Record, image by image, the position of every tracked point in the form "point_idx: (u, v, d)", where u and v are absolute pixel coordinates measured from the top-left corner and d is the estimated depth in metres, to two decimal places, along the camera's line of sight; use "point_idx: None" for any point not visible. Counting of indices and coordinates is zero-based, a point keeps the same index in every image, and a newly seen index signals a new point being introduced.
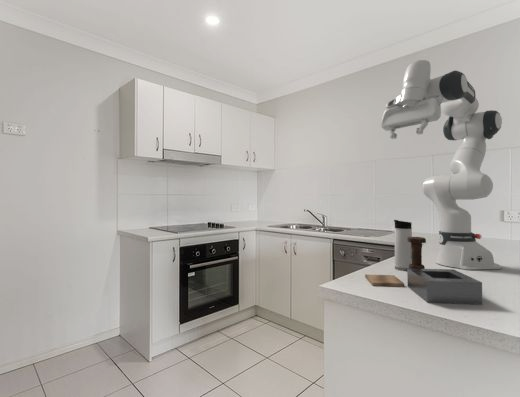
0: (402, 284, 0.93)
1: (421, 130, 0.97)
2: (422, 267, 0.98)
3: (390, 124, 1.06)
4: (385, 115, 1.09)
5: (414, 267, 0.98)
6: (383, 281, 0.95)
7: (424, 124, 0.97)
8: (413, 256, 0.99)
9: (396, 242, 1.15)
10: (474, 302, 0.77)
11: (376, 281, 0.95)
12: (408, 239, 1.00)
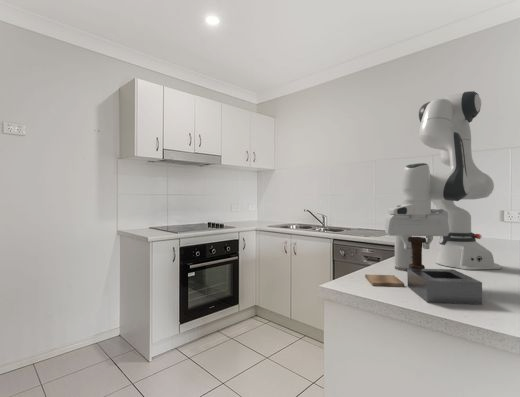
0: (402, 284, 0.93)
1: None
2: (422, 267, 0.98)
3: (400, 234, 0.99)
4: (393, 222, 0.98)
5: (414, 267, 0.98)
6: (383, 281, 0.95)
7: None
8: (413, 256, 0.99)
9: (396, 242, 1.15)
10: (474, 302, 0.77)
11: (376, 281, 0.95)
12: (408, 239, 1.00)
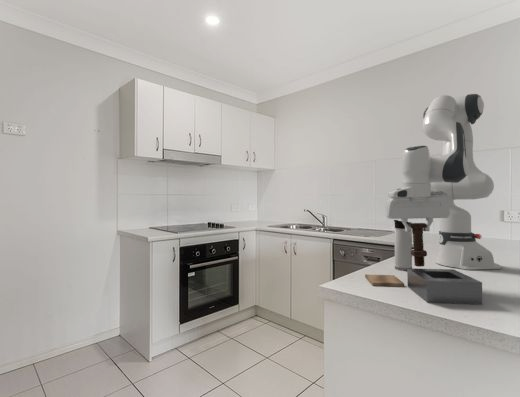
0: (402, 284, 0.93)
1: None
2: (424, 252, 0.98)
3: (401, 217, 0.99)
4: (393, 205, 0.99)
5: (417, 252, 0.98)
6: (383, 281, 0.95)
7: None
8: (415, 242, 0.99)
9: (396, 242, 1.15)
10: (474, 302, 0.77)
11: (376, 281, 0.95)
12: (409, 225, 1.01)
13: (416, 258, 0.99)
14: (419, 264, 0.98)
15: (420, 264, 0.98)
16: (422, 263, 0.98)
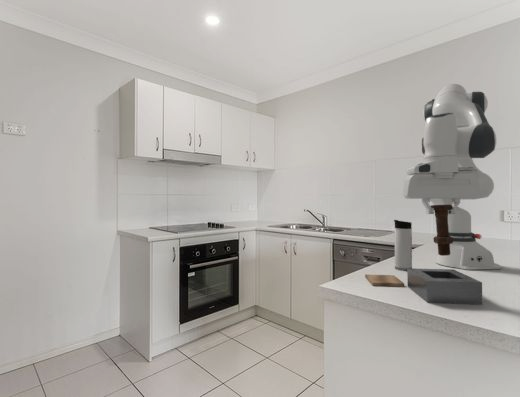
0: (402, 284, 0.93)
1: None
2: (450, 238, 0.83)
3: (422, 197, 0.84)
4: (413, 182, 0.83)
5: (441, 239, 0.83)
6: (383, 281, 0.95)
7: None
8: (439, 226, 0.84)
9: (396, 242, 1.15)
10: (474, 302, 0.77)
11: (376, 281, 0.95)
12: (431, 207, 0.86)
13: (440, 246, 0.84)
14: (444, 253, 0.83)
15: (445, 253, 0.83)
16: (448, 251, 0.83)
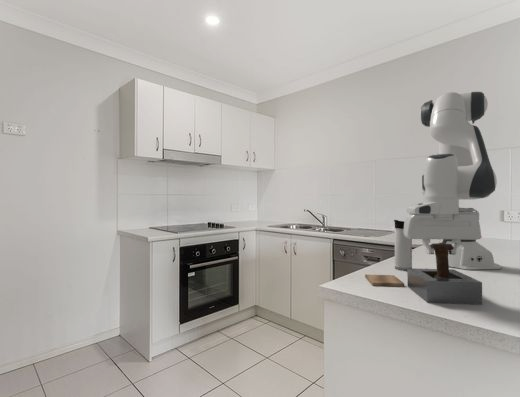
0: (402, 284, 0.93)
1: None
2: None
3: (422, 237, 0.84)
4: (414, 223, 0.83)
5: None
6: (383, 281, 0.95)
7: None
8: (439, 266, 0.84)
9: (396, 242, 1.15)
10: (474, 302, 0.77)
11: (376, 281, 0.95)
12: (431, 246, 0.86)
13: None
14: None
15: None
16: None
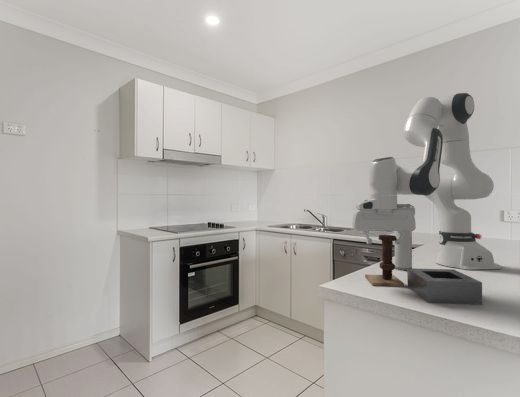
0: (402, 284, 0.93)
1: None
2: (392, 265, 0.96)
3: (367, 229, 0.97)
4: (359, 217, 0.97)
5: (385, 266, 0.96)
6: (383, 281, 0.95)
7: None
8: (384, 254, 0.97)
9: None
10: (474, 302, 0.77)
11: (376, 281, 0.95)
12: (379, 237, 0.98)
13: (384, 271, 0.97)
14: (386, 277, 0.96)
15: (387, 277, 0.96)
16: (389, 276, 0.96)
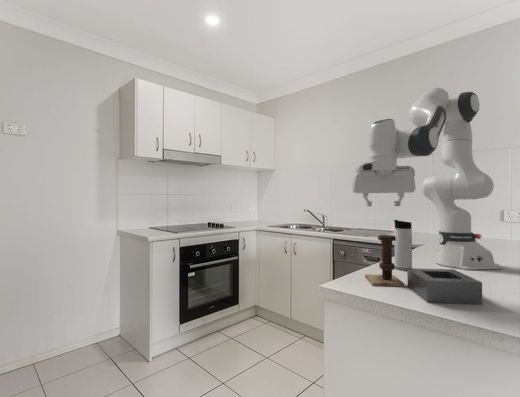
0: (402, 284, 0.93)
1: None
2: (392, 265, 0.96)
3: (366, 191, 0.97)
4: (359, 179, 0.97)
5: (384, 266, 0.96)
6: (383, 281, 0.95)
7: None
8: (383, 254, 0.97)
9: (396, 242, 1.15)
10: (474, 302, 0.77)
11: (376, 281, 0.95)
12: (378, 237, 0.98)
13: (384, 271, 0.97)
14: (386, 277, 0.96)
15: (387, 277, 0.96)
16: (389, 276, 0.96)
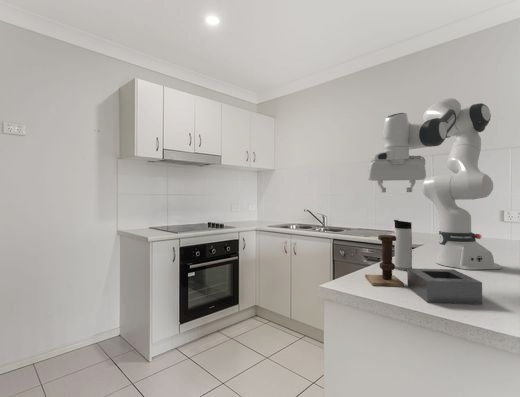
0: (402, 284, 0.93)
1: None
2: (392, 265, 0.96)
3: (381, 179, 1.07)
4: (374, 167, 1.07)
5: (385, 266, 0.96)
6: (383, 281, 0.95)
7: None
8: (384, 254, 0.97)
9: (396, 242, 1.15)
10: (474, 302, 0.77)
11: (376, 281, 0.95)
12: (379, 237, 0.98)
13: (384, 271, 0.97)
14: (386, 277, 0.96)
15: (387, 277, 0.96)
16: (389, 276, 0.96)
